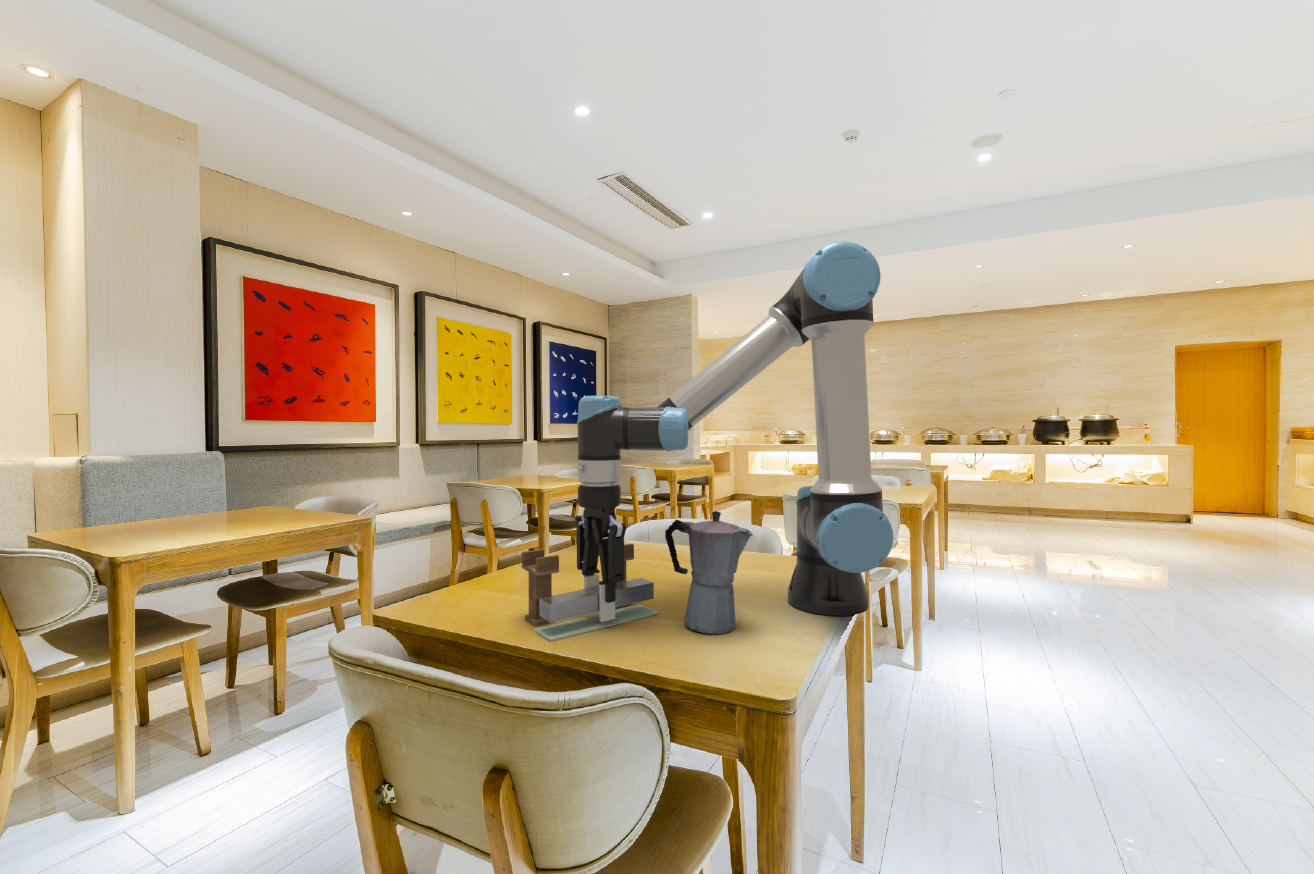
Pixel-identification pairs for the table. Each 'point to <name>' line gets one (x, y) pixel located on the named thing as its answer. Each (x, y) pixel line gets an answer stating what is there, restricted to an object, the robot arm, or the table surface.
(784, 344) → the robot arm
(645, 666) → the table surface
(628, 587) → the steel bar
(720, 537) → the moka pot
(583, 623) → the green mat
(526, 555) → the walnut standards
